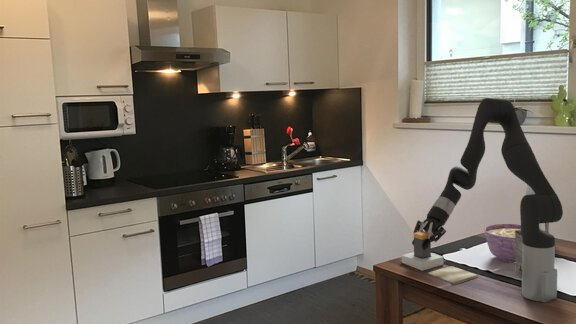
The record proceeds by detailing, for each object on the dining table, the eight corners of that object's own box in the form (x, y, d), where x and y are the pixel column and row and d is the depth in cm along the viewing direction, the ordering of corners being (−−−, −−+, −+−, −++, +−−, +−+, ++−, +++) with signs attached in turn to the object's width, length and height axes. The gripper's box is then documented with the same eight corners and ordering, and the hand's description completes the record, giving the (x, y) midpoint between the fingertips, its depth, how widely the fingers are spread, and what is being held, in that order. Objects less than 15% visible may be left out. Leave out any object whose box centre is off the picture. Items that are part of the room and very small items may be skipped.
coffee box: (539, 271, 183) (540, 228, 181) (549, 278, 176) (550, 233, 174) (514, 273, 183) (515, 230, 180) (523, 279, 176) (523, 235, 174)
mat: (477, 277, 181) (477, 275, 180) (453, 284, 175) (453, 282, 175) (451, 267, 191) (451, 265, 191) (428, 274, 185) (427, 272, 185)
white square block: (443, 265, 194) (443, 256, 193) (422, 271, 188) (422, 262, 188) (422, 258, 203) (422, 249, 203) (401, 263, 198) (401, 255, 198)
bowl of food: (528, 250, 206) (529, 223, 204) (549, 267, 186) (549, 237, 184) (477, 251, 208) (477, 224, 206) (492, 268, 188) (492, 238, 186)
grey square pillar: (430, 263, 195) (430, 233, 193) (422, 266, 193) (421, 235, 191) (422, 260, 199) (422, 231, 197) (414, 263, 197) (413, 233, 195)
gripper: (422, 202, 203) (400, 237, 198) (450, 208, 190) (426, 245, 186) (432, 213, 206) (410, 247, 202) (460, 220, 193) (437, 256, 189)
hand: (418, 246), depth 194 cm, fingers closed on grey square pillar, 4 cm apart
